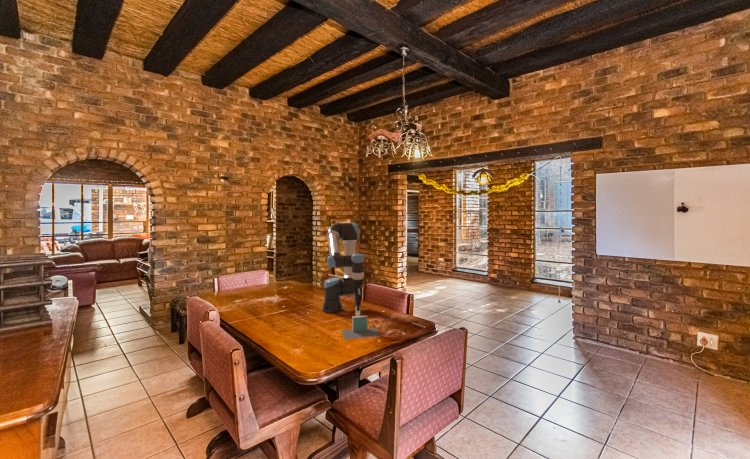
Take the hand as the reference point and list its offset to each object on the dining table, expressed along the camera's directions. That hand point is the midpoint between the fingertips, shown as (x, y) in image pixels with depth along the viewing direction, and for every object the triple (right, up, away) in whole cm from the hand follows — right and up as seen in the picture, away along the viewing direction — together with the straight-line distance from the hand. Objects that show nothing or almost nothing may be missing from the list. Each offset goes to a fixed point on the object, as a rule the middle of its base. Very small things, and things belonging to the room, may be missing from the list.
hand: (357, 315), depth 213 cm
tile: (+2, -8, -7) cm, 11 cm away
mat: (+2, -9, -11) cm, 14 cm away
